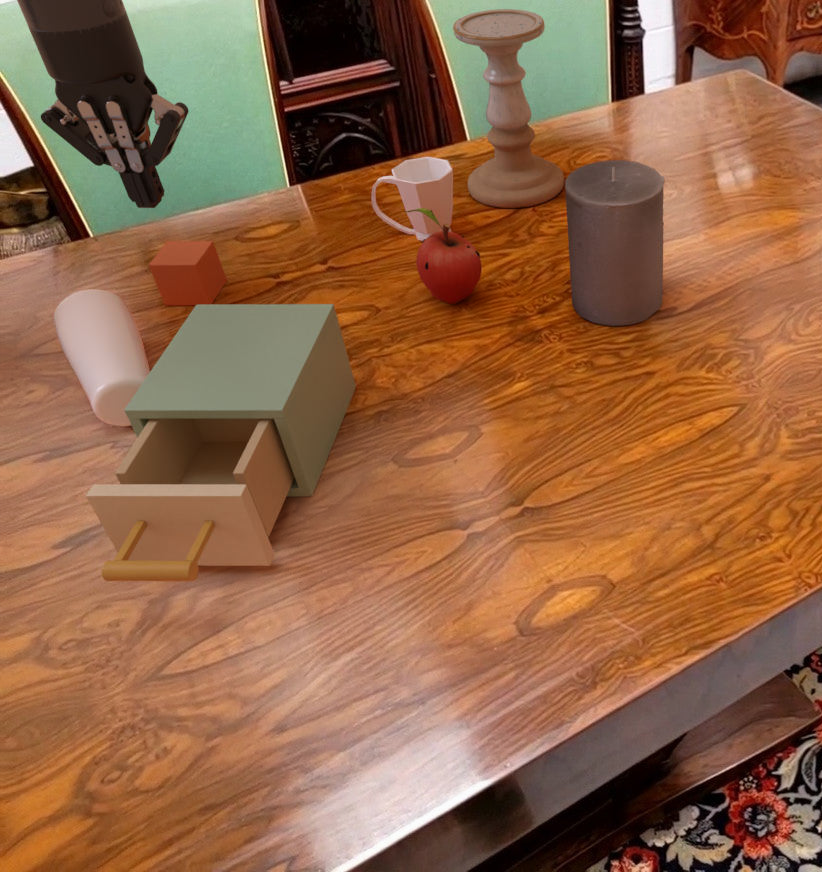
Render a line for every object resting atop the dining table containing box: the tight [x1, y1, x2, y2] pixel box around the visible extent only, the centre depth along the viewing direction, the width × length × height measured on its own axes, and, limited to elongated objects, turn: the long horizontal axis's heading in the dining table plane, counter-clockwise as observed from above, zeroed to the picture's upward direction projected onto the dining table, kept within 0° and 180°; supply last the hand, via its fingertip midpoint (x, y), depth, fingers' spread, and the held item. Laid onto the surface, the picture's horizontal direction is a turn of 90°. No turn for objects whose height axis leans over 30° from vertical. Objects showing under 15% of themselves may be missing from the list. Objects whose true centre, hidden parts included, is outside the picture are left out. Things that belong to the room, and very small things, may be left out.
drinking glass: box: [53, 288, 151, 427], centre depth 87 cm, size 7×7×15 cm
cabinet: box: [124, 303, 357, 497], centre depth 80 cm, size 15×12×9 cm
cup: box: [370, 156, 454, 242], centre depth 108 cm, size 7×10×8 cm
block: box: [148, 240, 228, 307], centre depth 100 cm, size 5×5×5 cm
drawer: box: [85, 419, 295, 582], centre depth 71 cm, size 19×11×7 cm, turn 179°
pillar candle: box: [564, 159, 666, 327], centre depth 94 cm, size 10×10×15 cm
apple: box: [402, 208, 482, 305], centre depth 97 cm, size 8×7×10 cm
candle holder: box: [452, 8, 565, 209], centre depth 113 cm, size 12×12×20 cm
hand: (150, 204), depth 89 cm, fingers closed
